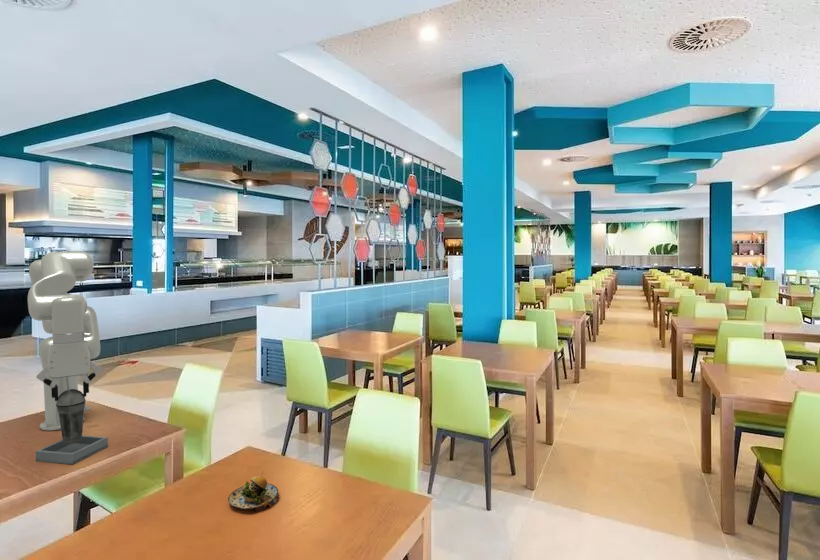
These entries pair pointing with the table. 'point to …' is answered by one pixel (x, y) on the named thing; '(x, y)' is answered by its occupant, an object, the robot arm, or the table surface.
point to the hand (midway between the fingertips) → (70, 397)
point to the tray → (71, 450)
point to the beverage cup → (71, 414)
